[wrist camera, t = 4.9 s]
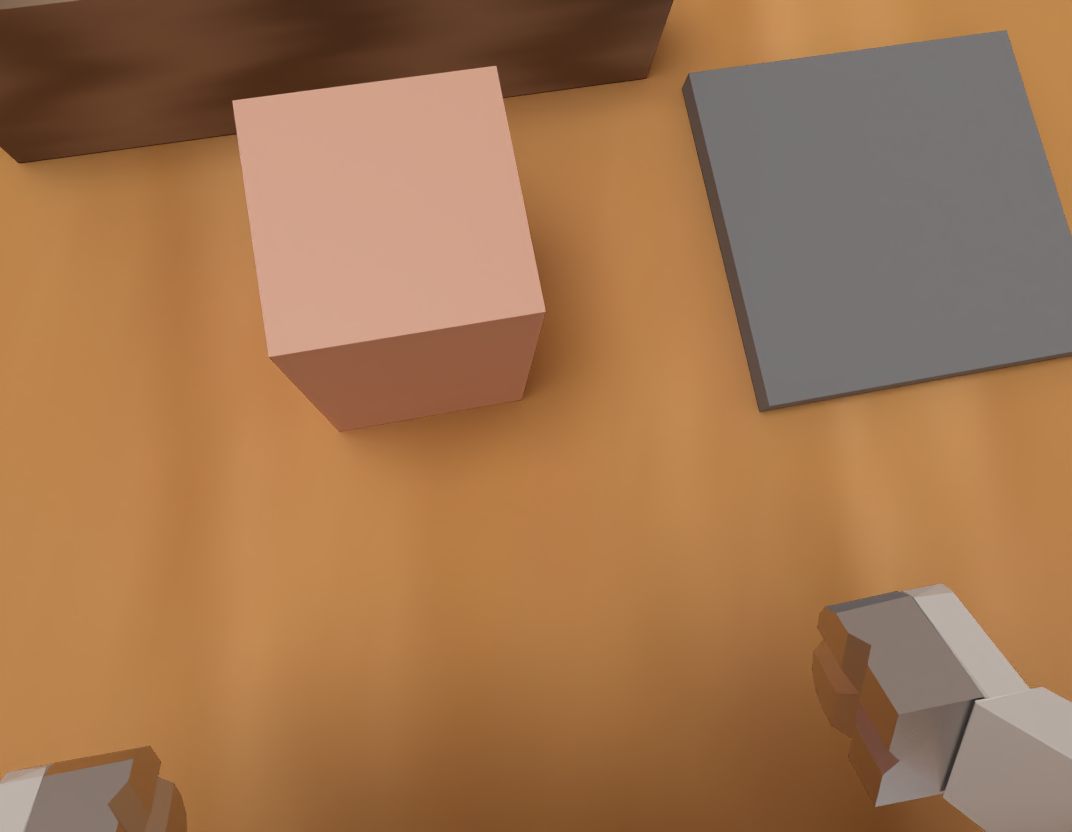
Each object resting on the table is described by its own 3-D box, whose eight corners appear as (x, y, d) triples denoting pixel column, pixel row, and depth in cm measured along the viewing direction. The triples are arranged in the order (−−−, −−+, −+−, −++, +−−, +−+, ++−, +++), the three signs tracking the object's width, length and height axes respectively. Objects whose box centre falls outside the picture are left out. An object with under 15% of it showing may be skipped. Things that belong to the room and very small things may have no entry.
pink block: (338, 431, 23) (268, 357, 15) (311, 250, 24) (230, 90, 16) (521, 400, 23) (545, 311, 15) (487, 224, 24) (494, 56, 16)
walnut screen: (18, 162, 23) (-135, 24, 18) (12, 97, 24) (-140, -60, 18) (646, 77, 25) (698, -73, 19) (632, 18, 26) (679, -147, 20)
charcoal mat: (759, 411, 24) (769, 406, 23) (682, 88, 25) (688, 73, 25) (1085, 352, 25) (1105, 345, 24) (990, 46, 26) (1006, 30, 26)
